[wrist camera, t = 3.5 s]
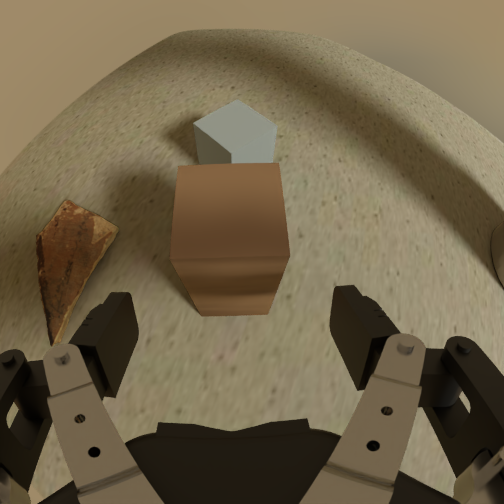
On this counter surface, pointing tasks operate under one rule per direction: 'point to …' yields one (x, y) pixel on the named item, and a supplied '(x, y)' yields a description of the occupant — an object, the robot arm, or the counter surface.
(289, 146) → the counter surface
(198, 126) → the grey-blue block
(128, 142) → the counter surface
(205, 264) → the walnut block
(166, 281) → the counter surface
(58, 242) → the shard
